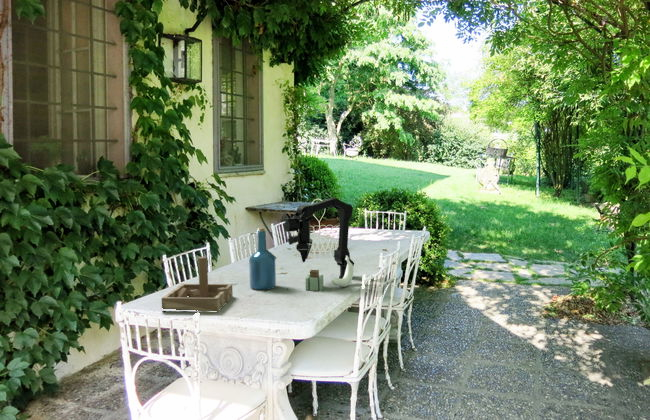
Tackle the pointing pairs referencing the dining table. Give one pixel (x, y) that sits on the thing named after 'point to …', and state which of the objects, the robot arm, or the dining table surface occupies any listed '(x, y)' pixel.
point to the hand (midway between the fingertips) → (304, 260)
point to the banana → (345, 275)
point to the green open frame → (314, 283)
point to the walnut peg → (315, 275)
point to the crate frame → (197, 303)
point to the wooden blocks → (201, 283)
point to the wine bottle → (262, 265)
